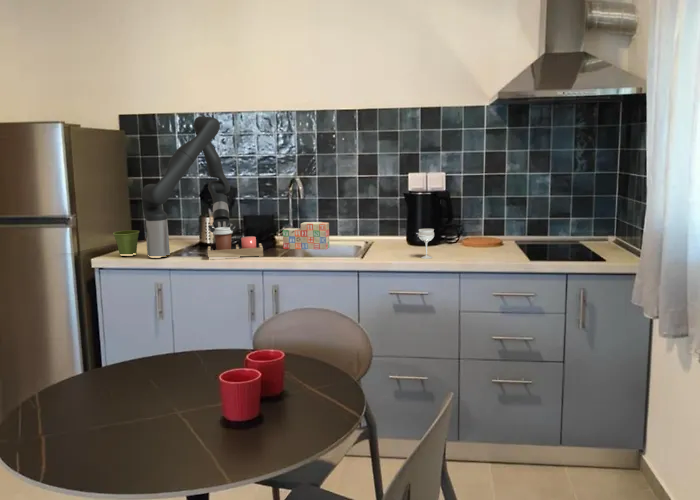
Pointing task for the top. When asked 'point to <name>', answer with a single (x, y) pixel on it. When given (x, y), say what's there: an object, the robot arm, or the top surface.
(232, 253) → the oak rack
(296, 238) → the stack of blocks
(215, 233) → the coffee cup
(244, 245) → the red rounded block
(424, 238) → the wineglass
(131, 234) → the plant pot
